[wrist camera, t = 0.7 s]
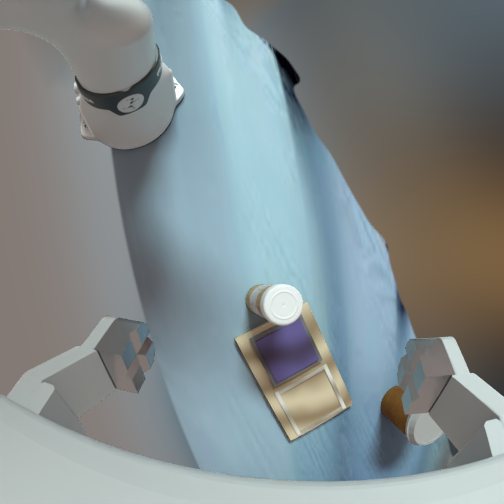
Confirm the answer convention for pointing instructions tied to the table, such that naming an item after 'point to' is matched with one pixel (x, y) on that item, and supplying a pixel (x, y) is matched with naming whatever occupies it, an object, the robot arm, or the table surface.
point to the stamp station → (295, 372)
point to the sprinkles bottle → (275, 303)
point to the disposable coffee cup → (409, 419)
